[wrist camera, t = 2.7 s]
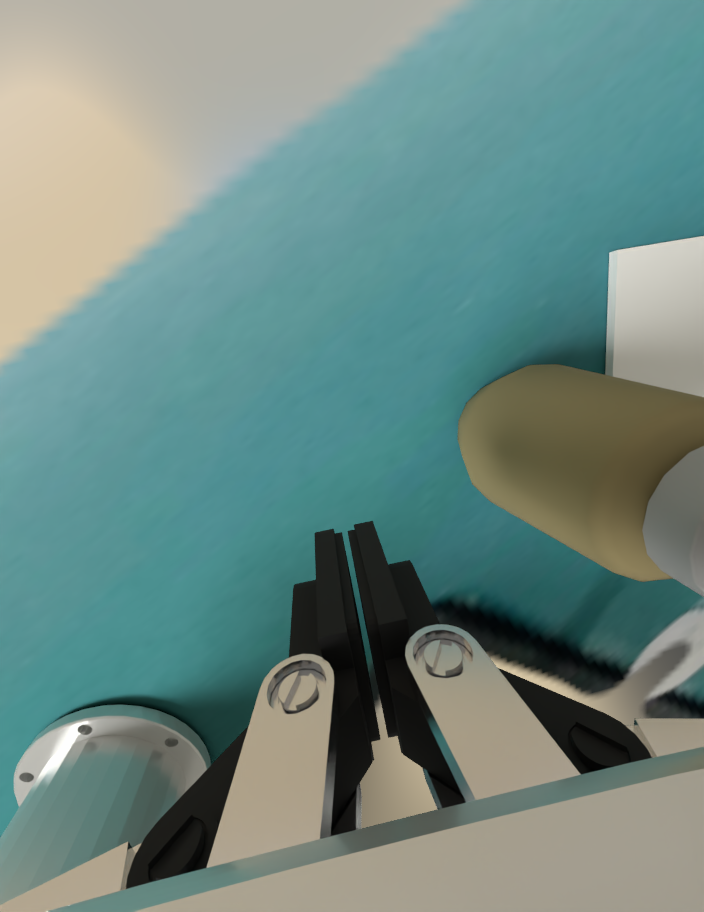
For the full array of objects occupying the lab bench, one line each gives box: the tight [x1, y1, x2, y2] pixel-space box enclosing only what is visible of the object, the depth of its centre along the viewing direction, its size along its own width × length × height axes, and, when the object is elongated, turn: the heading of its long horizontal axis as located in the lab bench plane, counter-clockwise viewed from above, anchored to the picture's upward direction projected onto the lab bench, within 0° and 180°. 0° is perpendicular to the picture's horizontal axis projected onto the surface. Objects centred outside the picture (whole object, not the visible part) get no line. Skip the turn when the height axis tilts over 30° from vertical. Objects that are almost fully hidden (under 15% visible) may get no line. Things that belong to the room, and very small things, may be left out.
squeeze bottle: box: [458, 364, 704, 597], centre depth 15 cm, size 8×8×18 cm
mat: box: [605, 236, 704, 397], centre depth 24 cm, size 18×12×1 cm, turn 9°
